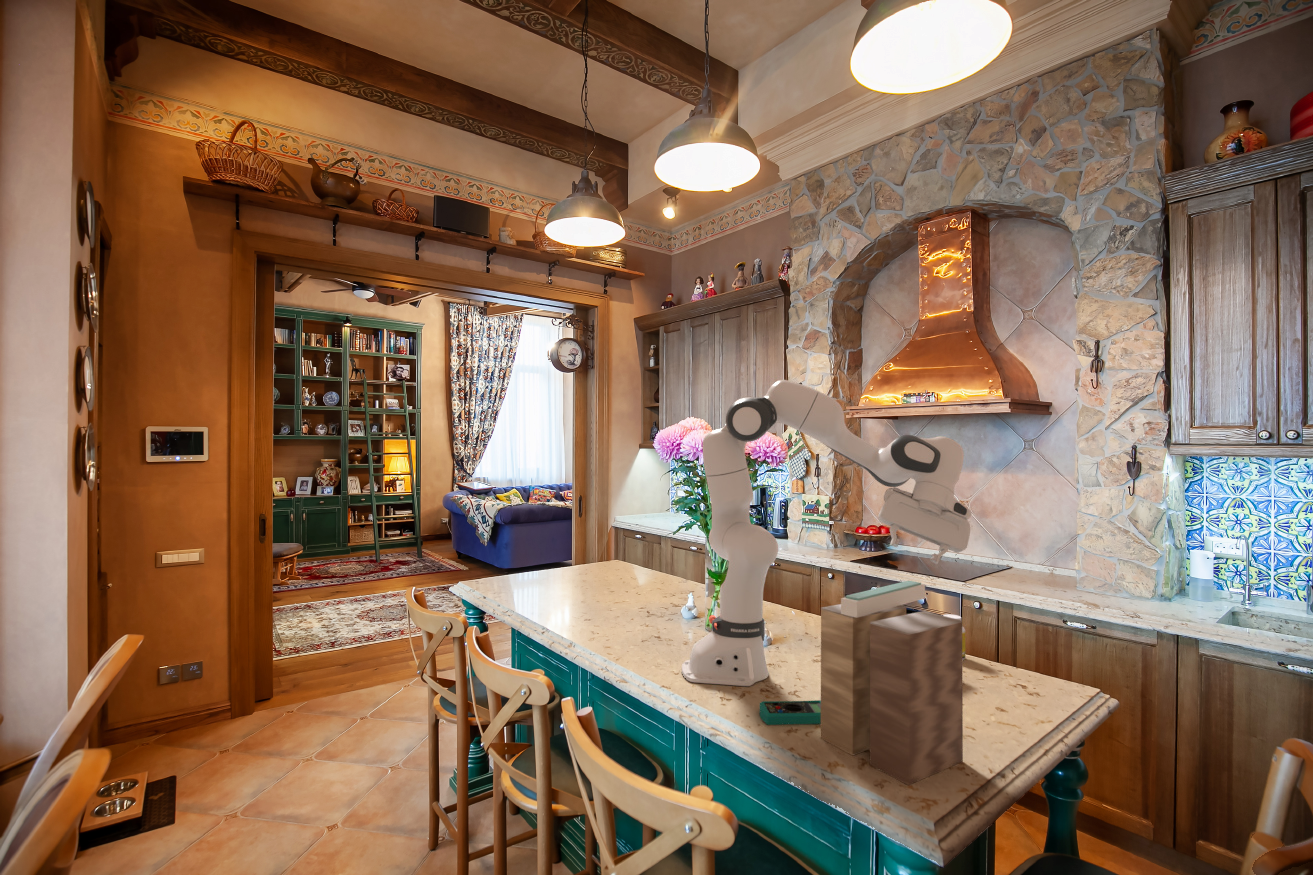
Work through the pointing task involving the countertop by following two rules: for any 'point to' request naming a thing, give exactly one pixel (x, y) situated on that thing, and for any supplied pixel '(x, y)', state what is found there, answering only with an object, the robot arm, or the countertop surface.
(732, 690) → the countertop surface
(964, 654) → the pill bottle
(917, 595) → the bar
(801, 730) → the countertop surface
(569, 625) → the countertop surface
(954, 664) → the walnut post
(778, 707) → the digital multimeter
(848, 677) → the oak post
